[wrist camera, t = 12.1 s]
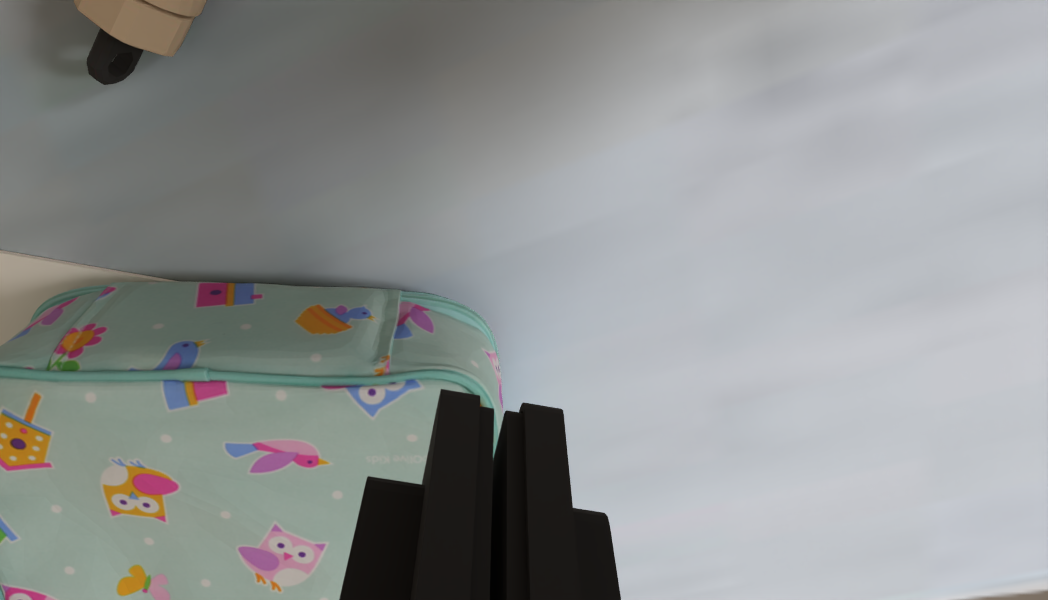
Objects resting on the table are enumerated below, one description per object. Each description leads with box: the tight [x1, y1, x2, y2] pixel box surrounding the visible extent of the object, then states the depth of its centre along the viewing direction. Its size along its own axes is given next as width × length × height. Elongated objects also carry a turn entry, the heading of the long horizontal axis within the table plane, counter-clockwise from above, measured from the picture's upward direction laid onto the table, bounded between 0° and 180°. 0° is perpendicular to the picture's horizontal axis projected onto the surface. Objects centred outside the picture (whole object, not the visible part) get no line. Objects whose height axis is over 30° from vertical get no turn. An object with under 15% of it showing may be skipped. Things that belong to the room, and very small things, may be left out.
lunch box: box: [0, 281, 503, 600], centre depth 47 cm, size 27×10×21 cm
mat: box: [0, 250, 180, 346], centre depth 51 cm, size 18×26×1 cm
